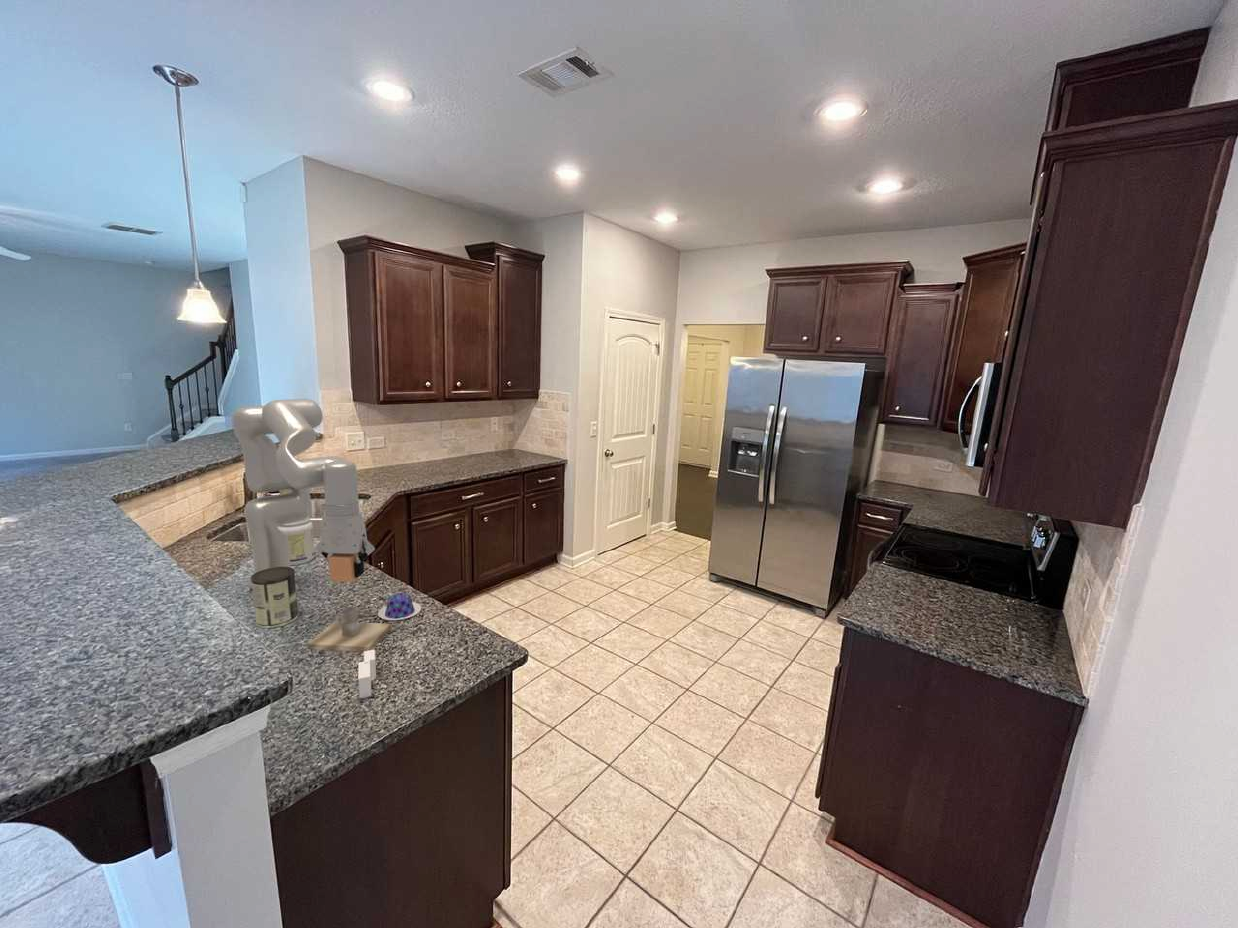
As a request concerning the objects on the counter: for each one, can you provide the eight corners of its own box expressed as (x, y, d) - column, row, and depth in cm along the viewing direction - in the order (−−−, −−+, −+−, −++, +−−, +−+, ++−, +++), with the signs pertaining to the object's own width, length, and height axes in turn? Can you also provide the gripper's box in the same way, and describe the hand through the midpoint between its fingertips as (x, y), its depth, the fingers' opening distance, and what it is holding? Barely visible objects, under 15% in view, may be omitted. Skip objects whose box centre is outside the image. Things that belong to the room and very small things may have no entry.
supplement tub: (294, 553, 195) (290, 510, 192) (323, 555, 193) (320, 513, 190) (268, 564, 183) (264, 519, 180) (299, 567, 182) (295, 522, 178)
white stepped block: (370, 706, 111) (369, 683, 110) (325, 698, 114) (323, 675, 112) (411, 668, 126) (410, 647, 125) (370, 661, 128) (369, 640, 127)
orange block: (330, 581, 131) (328, 556, 130) (342, 572, 136) (341, 549, 135) (352, 582, 131) (350, 557, 130) (363, 573, 136) (361, 550, 135)
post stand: (308, 649, 131) (305, 618, 130) (335, 625, 143) (332, 597, 142) (369, 652, 131) (367, 621, 129) (390, 628, 143) (389, 600, 141)
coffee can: (281, 608, 152) (277, 564, 149) (306, 615, 149) (303, 569, 146) (246, 624, 142) (241, 577, 140) (273, 631, 139) (268, 583, 136)
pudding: (372, 623, 146) (371, 606, 145) (384, 604, 158) (383, 588, 157) (416, 621, 148) (415, 604, 147) (425, 602, 160) (424, 587, 159)
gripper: (300, 511, 127) (306, 579, 130) (367, 514, 126) (372, 582, 130) (318, 503, 134) (323, 568, 137) (382, 506, 134) (386, 571, 137)
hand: (347, 574), depth 134 cm, fingers closed on orange block, 5 cm apart
